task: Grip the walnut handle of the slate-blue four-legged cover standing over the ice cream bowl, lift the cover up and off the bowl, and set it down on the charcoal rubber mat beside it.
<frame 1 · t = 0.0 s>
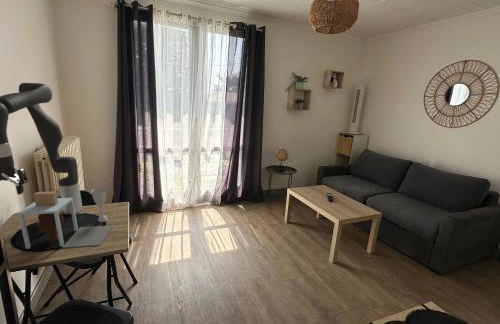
hand: (8, 194, 101), 29 cm above the table, tool pointing down, fingers open, 8 cm apart
chalice: (102, 220, 142), on the table
mat: (89, 236, 126), on the table
ice cream bowl: (54, 239, 123), on the table
cover: (53, 238, 123), on the table
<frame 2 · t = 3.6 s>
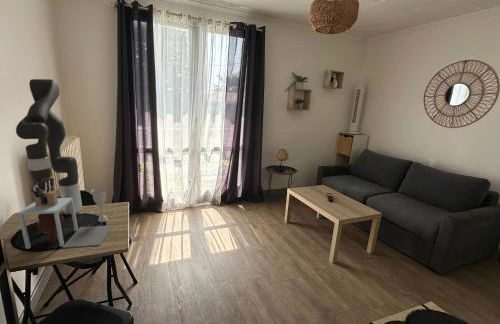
hand: (46, 202, 118), 19 cm above the table, tool pointing down, fingers closed on cover, 2 cm apart
cover: (53, 238, 123), on the table, touching gripper
everything else where it was.
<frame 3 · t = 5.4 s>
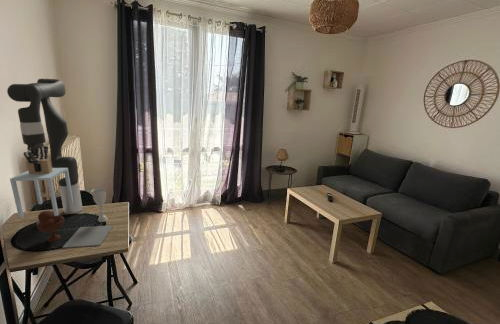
hand: (40, 170, 114), 35 cm above the table, tool pointing down, fingers closed on cover, 2 cm apart
cover: (48, 209, 119), point 16 cm above the table, touching gripper
everything else where it was.
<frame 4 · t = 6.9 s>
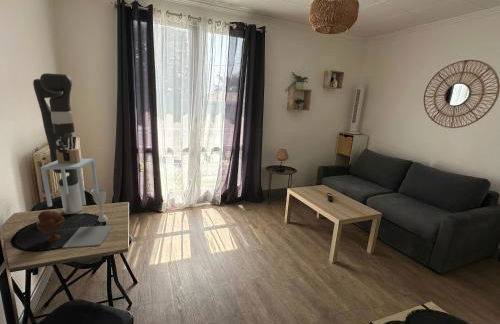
hand: (68, 160, 114), 40 cm above the table, tool pointing down, fingers closed on cover, 2 cm apart
cover: (75, 199, 119), point 20 cm above the table, touching gripper
everything else where it was.
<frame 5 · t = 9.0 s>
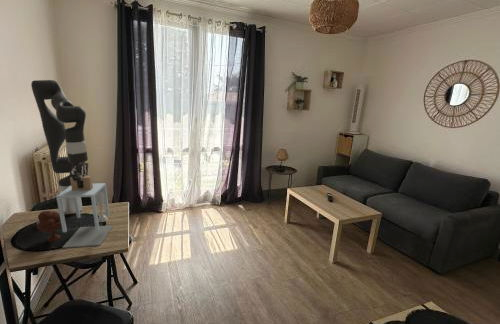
hand: (82, 186, 119), 26 cm above the table, tool pointing down, fingers closed on cover, 2 cm apart
cover: (87, 223, 124), point 7 cm above the table, touching gripper
everything else where it was.
when the fingers open (21 cm above the table, at t = 10.7 s): cover drops 1 cm, resting on mat.
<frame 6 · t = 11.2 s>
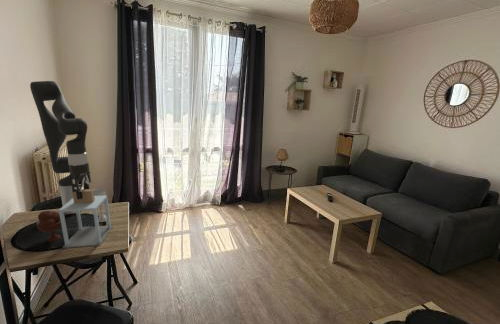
hand: (83, 195, 120), 22 cm above the table, tool pointing down, fingers open, 7 cm apart
cover: (89, 235, 126), resting on mat
everything else where it was.
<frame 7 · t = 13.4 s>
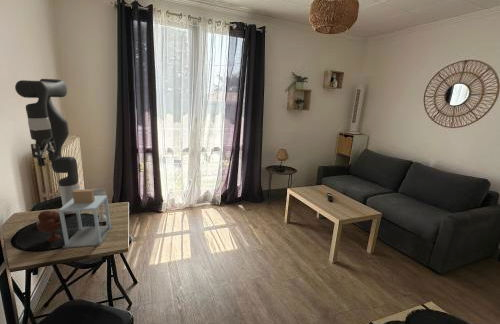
hand: (47, 163, 116), 38 cm above the table, tool pointing down, fingers open, 8 cm apart
nothing on the table moved.
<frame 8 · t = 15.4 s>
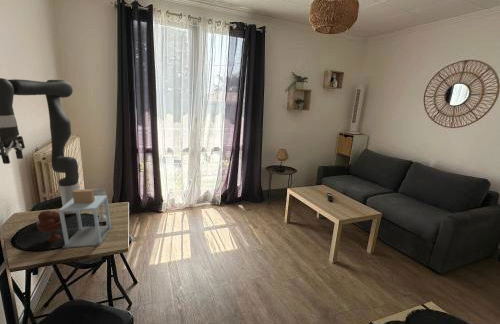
hand: (13, 161, 115), 38 cm above the table, tool pointing down, fingers open, 8 cm apart
nothing on the table moved.
at the end: cover inside the target area on the mat (0.0 cm from its centre), point 0.5 cm above the mat's base; cover tilted 0°; ice cream bowl moved 0.2 cm from its start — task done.
